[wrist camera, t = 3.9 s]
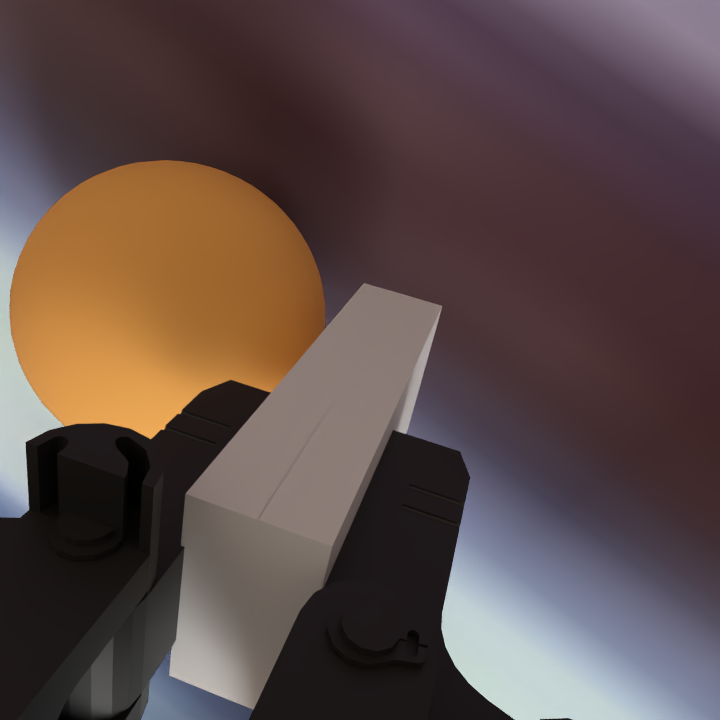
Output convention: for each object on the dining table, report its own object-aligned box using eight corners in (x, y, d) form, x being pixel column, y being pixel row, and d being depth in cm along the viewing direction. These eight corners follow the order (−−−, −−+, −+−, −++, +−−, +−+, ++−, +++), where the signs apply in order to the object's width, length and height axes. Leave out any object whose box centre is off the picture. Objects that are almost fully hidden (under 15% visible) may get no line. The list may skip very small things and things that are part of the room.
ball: (156, 238, 8) (-64, 116, 11) (127, 582, 11) (-44, 412, 14) (414, 209, 13) (211, 128, 16) (349, 456, 15) (186, 348, 18)
